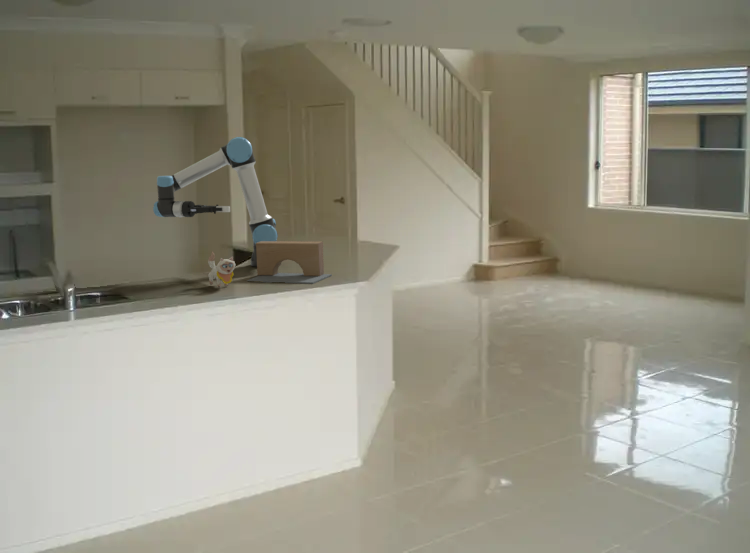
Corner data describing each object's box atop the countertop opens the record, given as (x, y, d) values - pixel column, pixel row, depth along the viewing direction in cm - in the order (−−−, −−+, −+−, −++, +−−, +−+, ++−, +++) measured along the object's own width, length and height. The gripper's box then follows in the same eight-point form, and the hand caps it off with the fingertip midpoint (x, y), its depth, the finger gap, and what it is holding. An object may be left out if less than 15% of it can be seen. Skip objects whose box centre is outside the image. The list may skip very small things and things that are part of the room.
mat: (268, 273, 418) (268, 272, 418) (331, 275, 408) (331, 274, 408) (246, 281, 398) (246, 280, 398) (313, 283, 387) (312, 282, 387)
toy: (220, 290, 376) (218, 255, 374) (200, 285, 392) (198, 251, 389) (239, 288, 382) (237, 253, 379) (219, 282, 397) (217, 249, 394)
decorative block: (255, 243, 408) (318, 243, 401) (261, 241, 415) (323, 241, 408) (257, 275, 410) (319, 276, 403) (262, 272, 417) (324, 273, 410)
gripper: (192, 215, 426) (236, 215, 419) (177, 218, 414) (223, 218, 406) (191, 199, 425) (235, 199, 417) (176, 202, 413) (222, 202, 405)
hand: (229, 209), depth 412 cm, fingers closed
